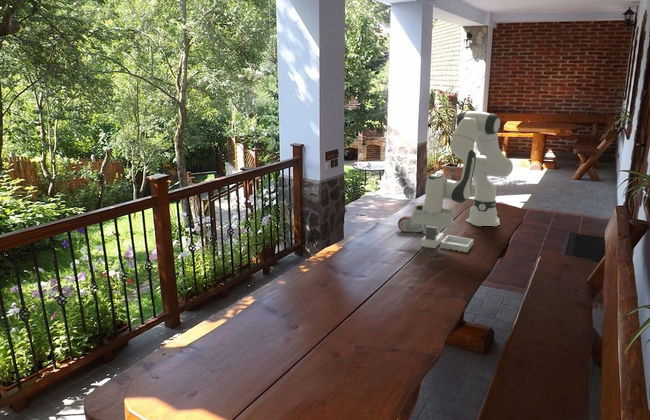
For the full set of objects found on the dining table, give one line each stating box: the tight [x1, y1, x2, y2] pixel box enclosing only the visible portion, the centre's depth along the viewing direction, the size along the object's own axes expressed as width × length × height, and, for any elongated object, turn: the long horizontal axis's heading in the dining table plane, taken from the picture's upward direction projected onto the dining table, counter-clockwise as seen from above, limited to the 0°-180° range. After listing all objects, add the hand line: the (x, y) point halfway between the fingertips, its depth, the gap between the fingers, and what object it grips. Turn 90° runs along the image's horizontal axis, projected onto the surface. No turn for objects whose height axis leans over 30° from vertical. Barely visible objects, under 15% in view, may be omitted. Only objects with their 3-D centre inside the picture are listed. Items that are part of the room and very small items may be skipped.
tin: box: [397, 215, 427, 234], centre depth 263 cm, size 15×3×8 cm, turn 84°
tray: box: [439, 234, 474, 253], centre depth 242 cm, size 13×13×3 cm
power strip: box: [420, 232, 445, 249], centre depth 249 cm, size 21×7×4 cm, turn 151°
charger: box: [424, 225, 438, 240], centre depth 243 cm, size 4×4×7 cm
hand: (431, 234), depth 243 cm, fingers closed on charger, 4 cm apart
